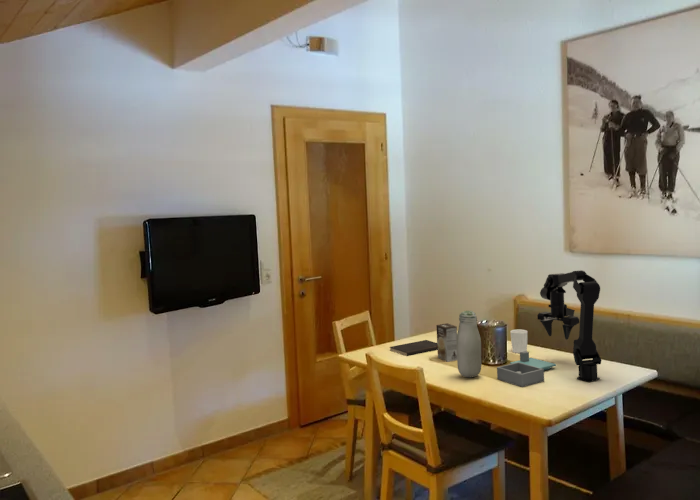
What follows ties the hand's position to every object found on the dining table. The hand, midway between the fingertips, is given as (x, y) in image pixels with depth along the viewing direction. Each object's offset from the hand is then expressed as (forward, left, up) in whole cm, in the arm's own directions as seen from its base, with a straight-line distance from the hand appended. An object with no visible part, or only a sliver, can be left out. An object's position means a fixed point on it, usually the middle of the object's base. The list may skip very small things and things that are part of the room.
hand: (558, 337), depth 265 cm
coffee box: (+40, +30, -12) cm, 51 cm away
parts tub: (-6, +29, -12) cm, 32 cm away
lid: (+4, +12, -12) cm, 17 cm away
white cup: (+28, -4, -12) cm, 31 cm away
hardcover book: (+65, +30, -13) cm, 73 cm away
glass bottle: (+11, +41, -12) cm, 44 cm away
